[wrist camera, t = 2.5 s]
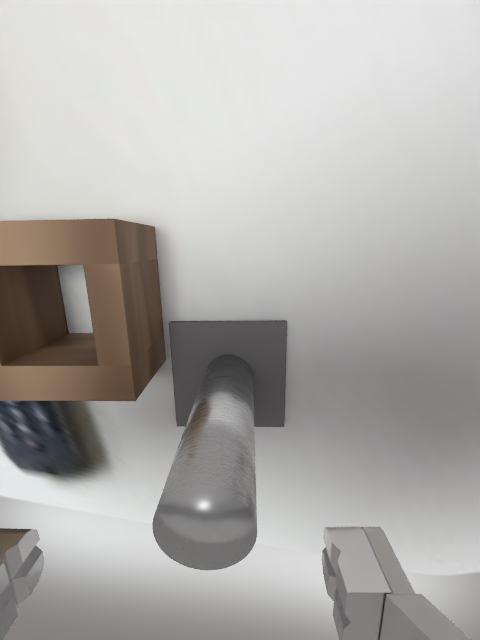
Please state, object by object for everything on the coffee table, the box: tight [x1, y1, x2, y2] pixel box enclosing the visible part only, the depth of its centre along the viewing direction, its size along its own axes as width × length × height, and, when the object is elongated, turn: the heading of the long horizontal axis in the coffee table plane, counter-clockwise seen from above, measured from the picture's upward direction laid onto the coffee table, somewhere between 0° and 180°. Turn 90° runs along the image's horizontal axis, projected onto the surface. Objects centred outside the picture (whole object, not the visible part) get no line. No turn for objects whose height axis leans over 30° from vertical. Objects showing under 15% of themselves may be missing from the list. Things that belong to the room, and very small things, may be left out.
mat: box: [169, 321, 287, 427], centre depth 18 cm, size 7×7×1 cm
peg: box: [153, 354, 257, 570], centre depth 13 cm, size 3×3×10 cm
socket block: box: [0, 219, 166, 401], centre depth 15 cm, size 15×8×5 cm, turn 91°
